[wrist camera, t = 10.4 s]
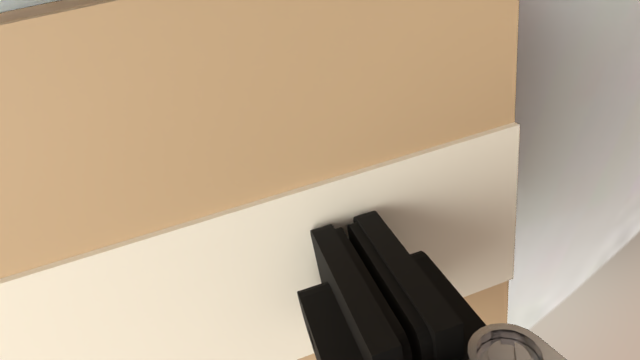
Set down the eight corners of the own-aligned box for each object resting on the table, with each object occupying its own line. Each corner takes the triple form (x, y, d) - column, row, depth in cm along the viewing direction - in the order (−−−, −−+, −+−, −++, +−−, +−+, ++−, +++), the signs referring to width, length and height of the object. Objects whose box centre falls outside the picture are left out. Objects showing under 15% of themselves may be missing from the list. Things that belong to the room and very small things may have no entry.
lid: (497, -82, 10) (529, -87, 9) (491, 354, 16) (508, 376, 15) (-260, 78, 7) (-320, 93, 6) (98, 513, 14) (93, 549, 13)
